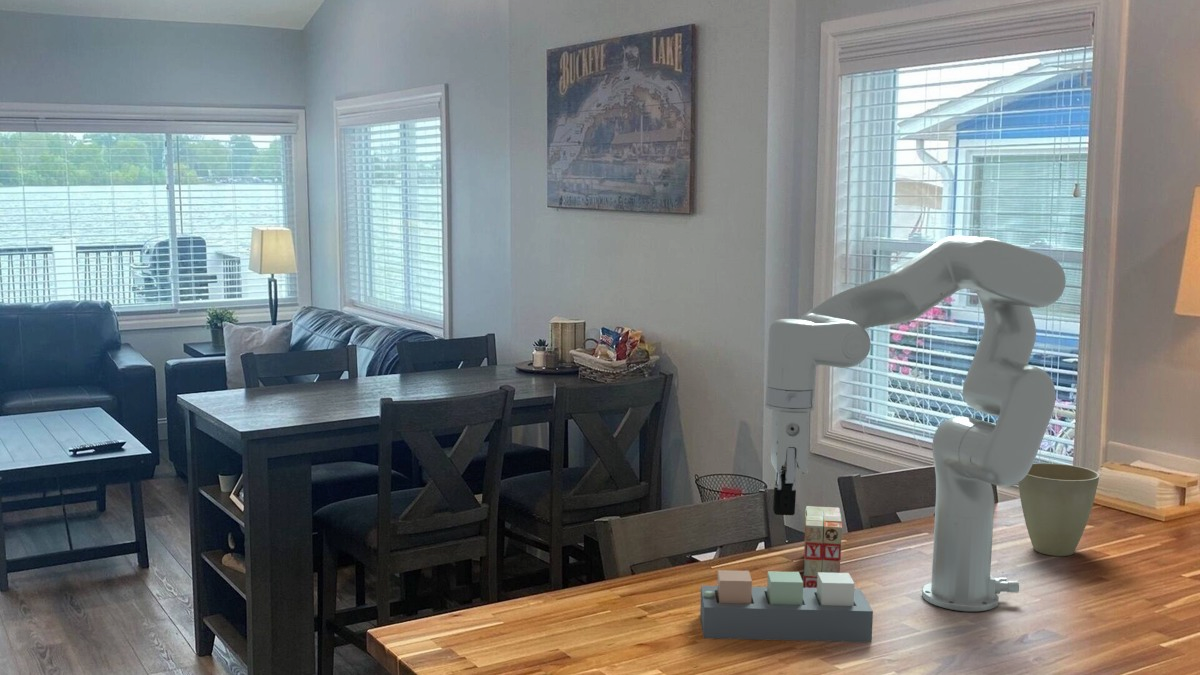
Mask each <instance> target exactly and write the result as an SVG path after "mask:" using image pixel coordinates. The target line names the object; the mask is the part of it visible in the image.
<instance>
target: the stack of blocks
mask: <svg viewBox="0 0 1200 675" xmlns="http://www.w3.org/2000/svg"><path fill="white" fill-rule="evenodd" d="M842 522H843V521H842V514H841V509H840V507H837V506H836V507H832V506H812V505H806V506H805V509H804V544H803V545H804V548H803V550H804V555H803V556H804V559H803V560H804V561H803V563H804V565H803V569H804V570H803V580H802V581H803V588H817V574H818V572H825V573H841V571H840V570H841V558H842V538H843V537H842V536H843V523H842Z"/></svg>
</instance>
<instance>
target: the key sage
mask: <svg viewBox="0 0 1200 675" xmlns="http://www.w3.org/2000/svg"><path fill="white" fill-rule="evenodd" d="M766 579H767V580H766V581H767V582H766V584H767V586H766V587H767V602H768V604H787V605H802V602H803V581H804V580H803V578H802V576H801V574H800V572H799V571H777V570H776V571H771V570H770V571H769V570H767V578H766Z"/></svg>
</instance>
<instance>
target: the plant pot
mask: <svg viewBox="0 0 1200 675" xmlns="http://www.w3.org/2000/svg"><path fill="white" fill-rule="evenodd" d="M1100 475H1101V474H1099V472H1097V471H1095V470H1093V469H1091V468H1087V467H1082V466H1077V465H1072V464H1064V463H1053V462H1052V463H1051V462H1035V463H1034V462H1033V465H1032V467H1031V469H1030V471H1029V472H1028V474H1027V475H1026V476H1025V478H1024V479H1023V480H1022V481H1020V482H1019V483H1018V484H1017V485H1018V490H1019V499H1020V504H1021V508H1022V514H1023V517H1024V522H1025V525H1026V529H1027V532H1028V536H1029V539H1030V543H1031V546H1032V548H1033V550H1035V551H1036V552H1037V553H1040V554H1043V555H1047V556H1054V557H1055V556H1056V557H1066V556H1072V555H1073V554H1074V553H1075V552H1076V550H1077V547H1078V546H1079V543H1080V541H1081V539H1082V536H1083V534H1084V531H1085V528H1086V526H1087V523H1088V521H1089V519H1090V515H1091V513H1092V508H1093V506H1094V502H1095V497H1096V493H1097V489H1098V485H1099V480H1100Z"/></svg>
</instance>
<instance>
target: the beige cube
mask: <svg viewBox="0 0 1200 675" xmlns="http://www.w3.org/2000/svg"><path fill="white" fill-rule="evenodd" d="M716 586H717V602H718V603H743V604H751V597H752V587H753V580H752V577H751V573H750V570H731V569H730V570H726V569H725V570H723V569H722V570H721V569H720V570H719V569H718V570H717V584H716Z"/></svg>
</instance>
